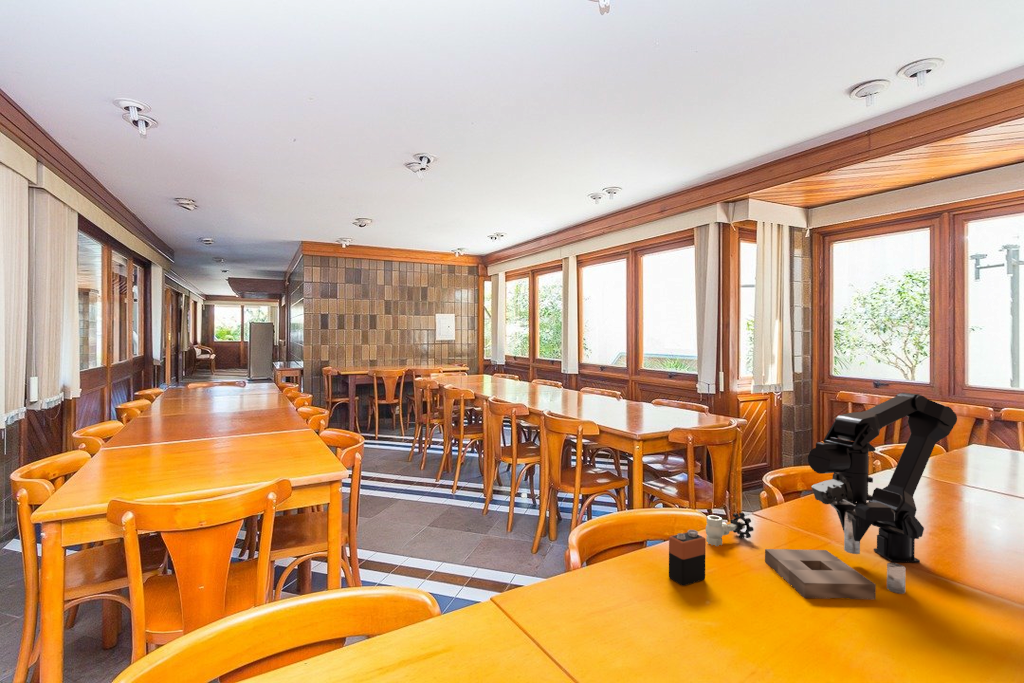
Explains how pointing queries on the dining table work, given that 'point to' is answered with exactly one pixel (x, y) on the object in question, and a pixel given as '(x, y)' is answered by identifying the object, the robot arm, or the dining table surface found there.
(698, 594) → the dining table surface
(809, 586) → the hole plate
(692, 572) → the battery
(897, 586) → the short pin
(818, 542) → the dining table surface
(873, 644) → the dining table surface
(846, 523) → the long pin
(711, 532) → the valve
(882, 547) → the robot arm
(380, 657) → the dining table surface
